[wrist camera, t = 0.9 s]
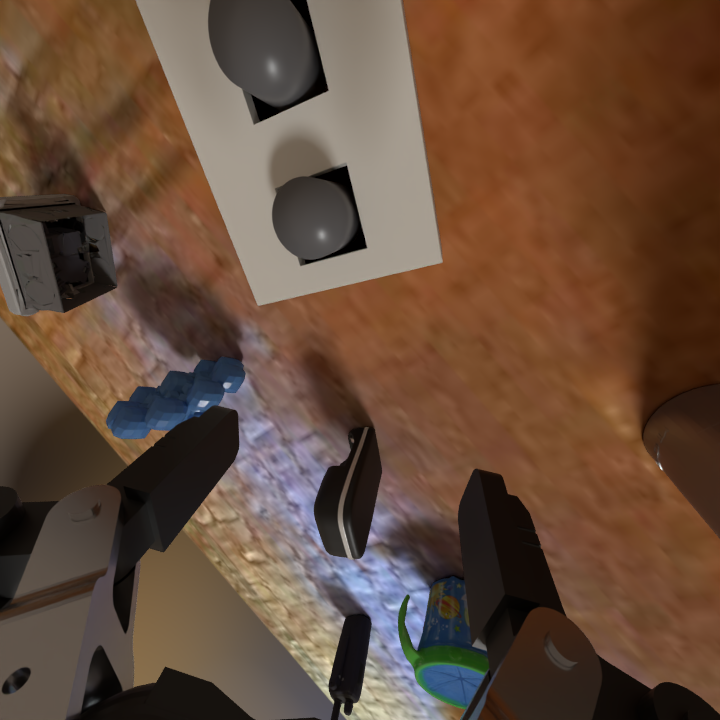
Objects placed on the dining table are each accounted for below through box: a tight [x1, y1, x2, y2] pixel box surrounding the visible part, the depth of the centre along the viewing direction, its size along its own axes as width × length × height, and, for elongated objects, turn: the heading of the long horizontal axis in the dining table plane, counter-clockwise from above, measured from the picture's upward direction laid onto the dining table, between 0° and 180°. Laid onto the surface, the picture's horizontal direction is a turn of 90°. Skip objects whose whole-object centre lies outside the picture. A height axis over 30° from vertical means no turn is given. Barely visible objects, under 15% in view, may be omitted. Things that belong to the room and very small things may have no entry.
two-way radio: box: [329, 615, 372, 720], centre depth 46 cm, size 6×4×15 cm
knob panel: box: [136, 0, 442, 306], centre depth 20 cm, size 14×26×6 cm, turn 16°
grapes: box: [106, 357, 245, 439], centre depth 31 cm, size 12×7×12 cm, turn 106°
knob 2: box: [272, 176, 362, 260], centre depth 20 cm, size 4×4×5 cm
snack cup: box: [398, 576, 489, 709], centre depth 39 cm, size 16×10×10 cm
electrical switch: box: [0, 194, 117, 316], centre depth 28 cm, size 9×5×9 cm, turn 166°
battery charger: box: [314, 427, 382, 560], centre depth 31 cm, size 7×4×11 cm, turn 10°
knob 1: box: [208, 0, 326, 112], centre depth 17 cm, size 4×4×5 cm
